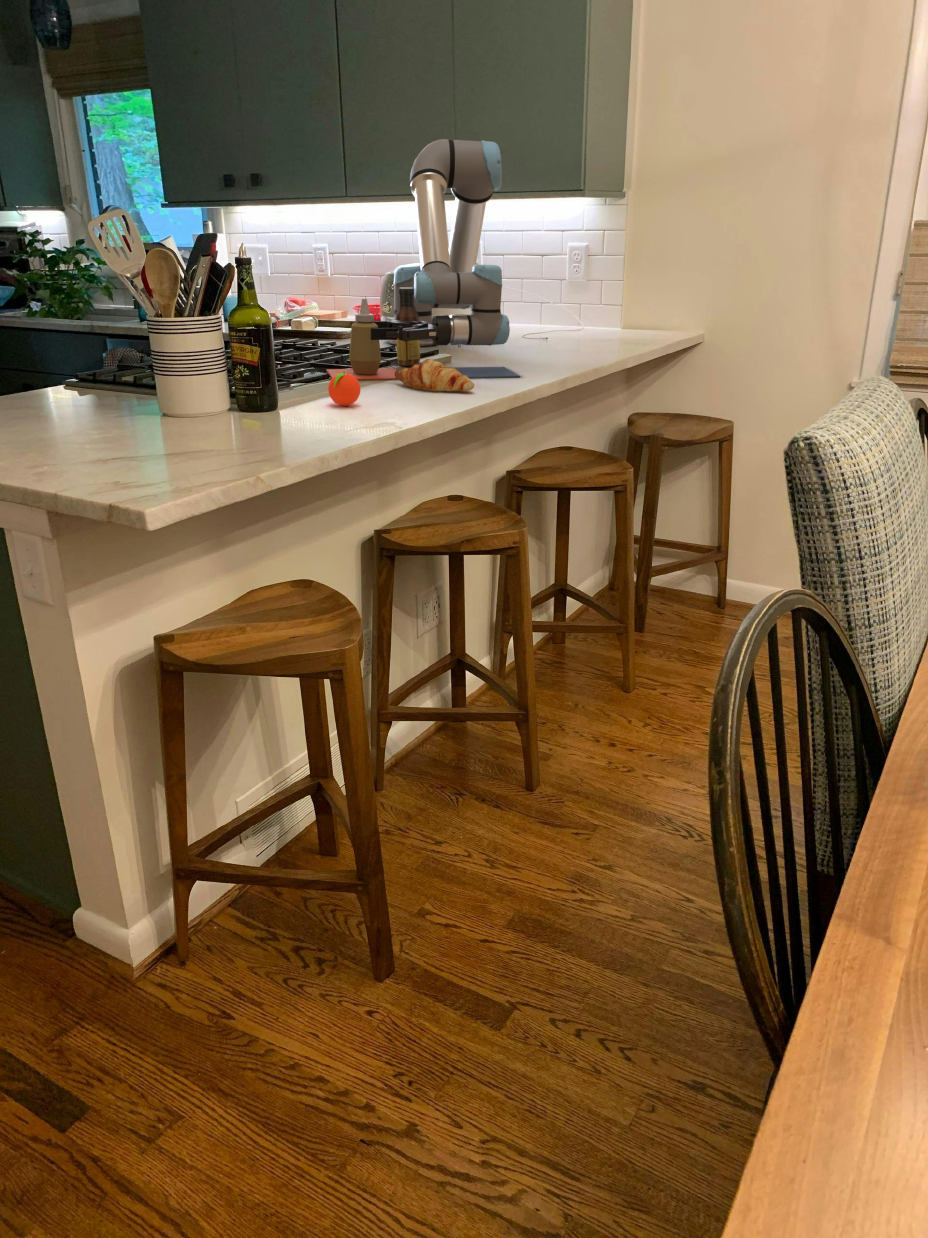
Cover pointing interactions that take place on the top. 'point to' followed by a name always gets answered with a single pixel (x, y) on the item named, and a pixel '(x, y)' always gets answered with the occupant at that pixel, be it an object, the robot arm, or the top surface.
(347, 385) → the clementine
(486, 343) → the robot arm
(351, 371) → the terracotta mat
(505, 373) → the slate mat
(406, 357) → the sauce bottle
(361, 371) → the squeeze bottle
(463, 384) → the croissant
